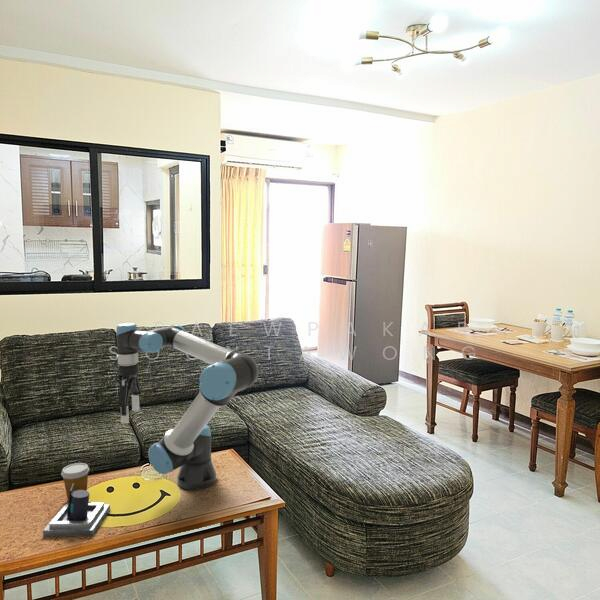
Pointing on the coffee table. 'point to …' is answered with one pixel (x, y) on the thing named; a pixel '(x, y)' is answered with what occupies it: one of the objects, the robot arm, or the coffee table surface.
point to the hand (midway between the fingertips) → (130, 416)
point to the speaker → (78, 504)
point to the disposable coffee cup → (75, 477)
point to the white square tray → (77, 522)
